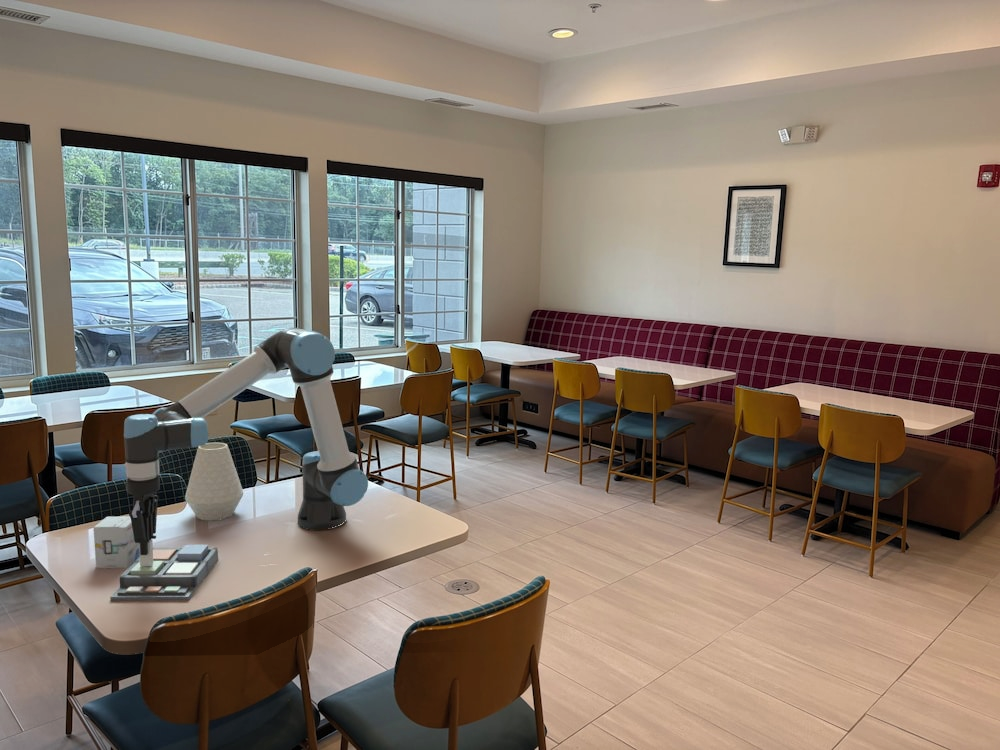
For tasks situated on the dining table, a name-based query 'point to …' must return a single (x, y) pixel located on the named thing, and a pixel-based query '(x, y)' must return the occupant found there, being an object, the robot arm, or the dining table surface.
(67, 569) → the dining table surface
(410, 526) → the dining table surface
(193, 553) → the key slate
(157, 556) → the key terracotta
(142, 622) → the dining table surface
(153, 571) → the key sage
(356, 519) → the dining table surface
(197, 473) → the vase
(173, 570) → the key cream
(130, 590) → the keypad
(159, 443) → the robot arm
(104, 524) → the ink box
